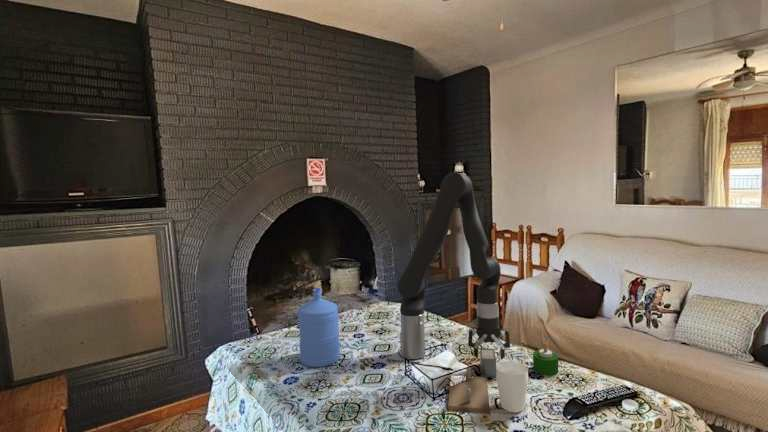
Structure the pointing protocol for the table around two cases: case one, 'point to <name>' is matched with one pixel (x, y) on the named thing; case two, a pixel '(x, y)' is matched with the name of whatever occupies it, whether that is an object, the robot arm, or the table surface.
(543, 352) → the candle
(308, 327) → the water jug
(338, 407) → the table surface
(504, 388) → the cup
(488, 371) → the block
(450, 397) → the tray
